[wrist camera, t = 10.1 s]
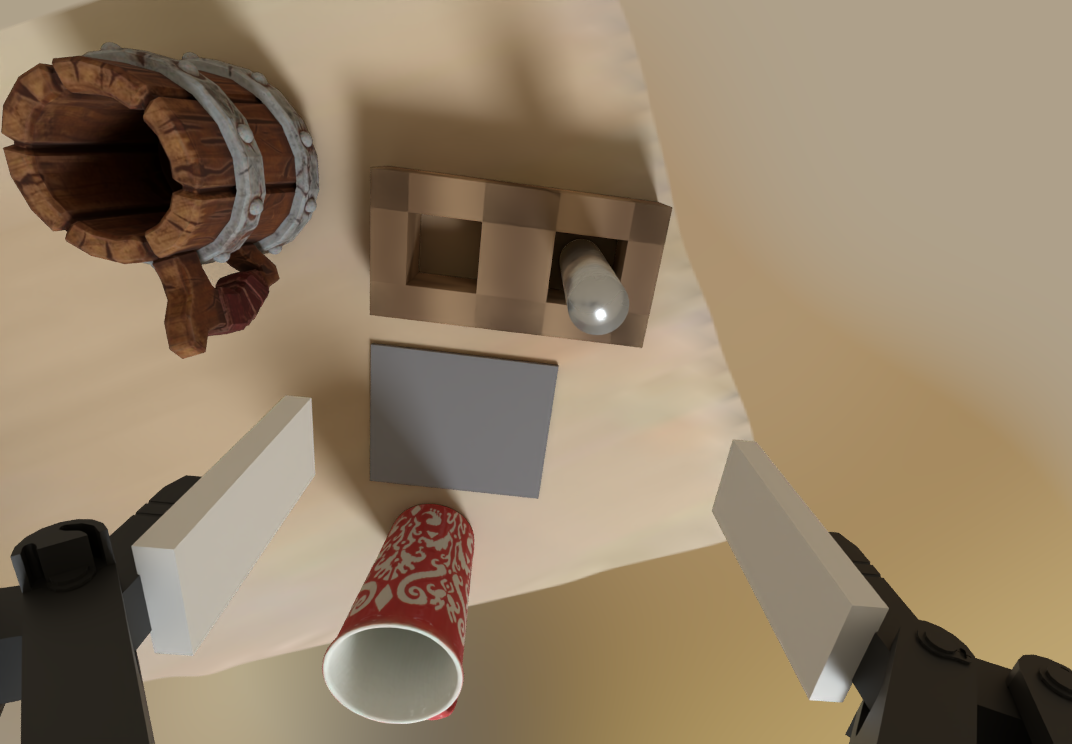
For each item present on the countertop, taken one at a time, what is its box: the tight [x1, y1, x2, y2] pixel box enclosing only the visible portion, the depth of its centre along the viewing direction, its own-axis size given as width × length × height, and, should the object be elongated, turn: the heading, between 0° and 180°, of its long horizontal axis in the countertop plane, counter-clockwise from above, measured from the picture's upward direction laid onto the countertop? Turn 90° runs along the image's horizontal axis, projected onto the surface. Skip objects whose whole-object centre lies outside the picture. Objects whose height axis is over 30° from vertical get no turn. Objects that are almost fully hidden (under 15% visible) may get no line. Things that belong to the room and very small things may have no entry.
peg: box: [559, 239, 629, 335], centre depth 31 cm, size 3×3×12 cm
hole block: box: [370, 166, 672, 348], centre depth 35 cm, size 18×9×4 cm, turn 83°
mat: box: [370, 343, 558, 499], centre depth 42 cm, size 14×12×1 cm
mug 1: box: [1, 42, 319, 359], centre depth 29 cm, size 12×14×15 cm
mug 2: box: [322, 504, 474, 724], centre depth 40 cm, size 13×9×14 cm
